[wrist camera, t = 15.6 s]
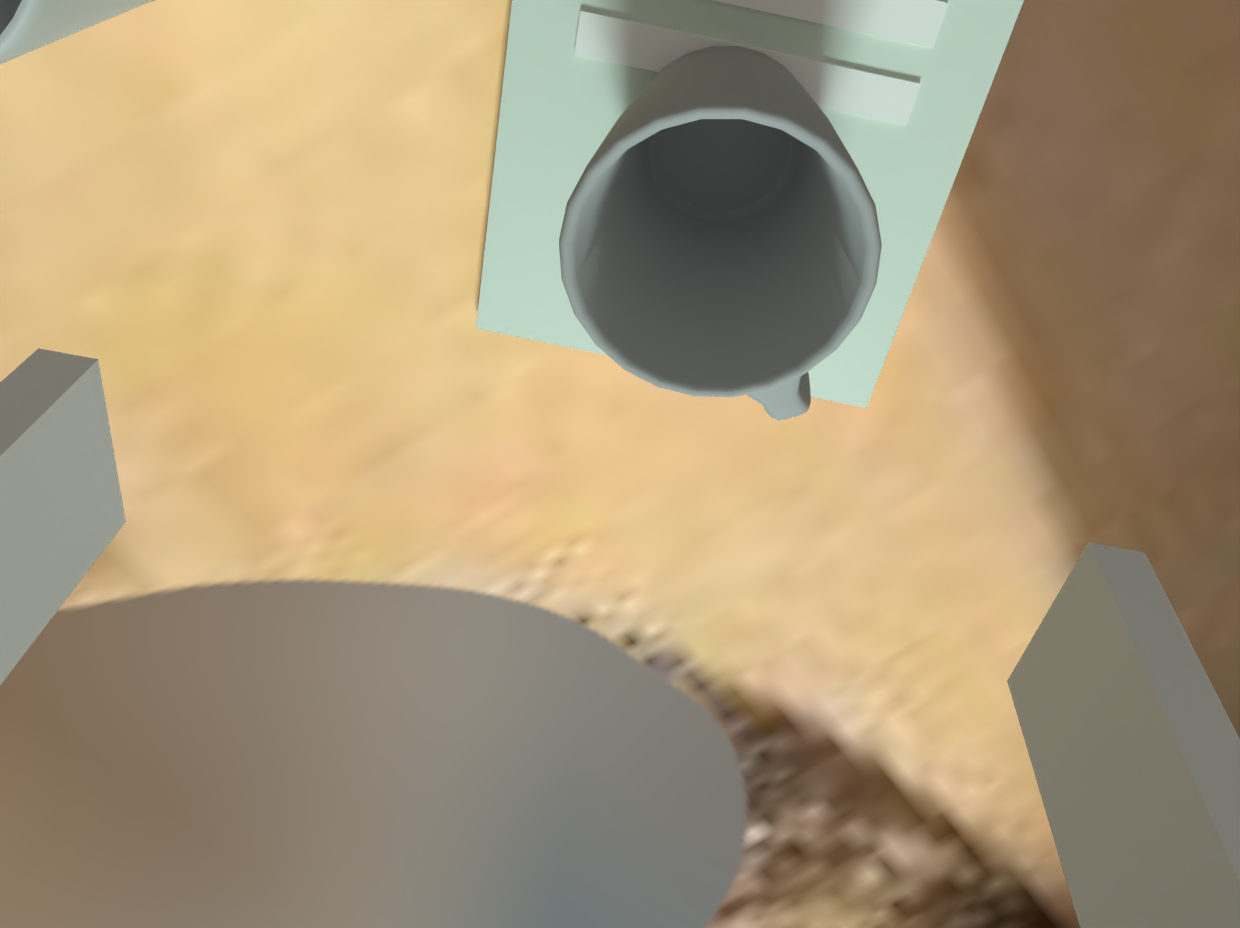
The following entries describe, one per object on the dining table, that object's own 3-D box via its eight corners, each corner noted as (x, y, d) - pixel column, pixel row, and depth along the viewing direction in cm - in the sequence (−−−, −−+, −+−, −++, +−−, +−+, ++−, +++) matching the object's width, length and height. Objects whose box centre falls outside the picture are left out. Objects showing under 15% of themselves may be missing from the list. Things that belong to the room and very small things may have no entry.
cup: (803, -40, 27) (825, 44, 21) (900, 272, 33) (943, 422, 26) (555, 71, 30) (500, 179, 23) (682, 346, 35) (668, 500, 28)
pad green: (529, -131, 27) (525, -128, 27) (1025, -22, 28) (1032, -17, 27) (479, 320, 36) (475, 330, 35) (864, 399, 36) (867, 410, 35)
